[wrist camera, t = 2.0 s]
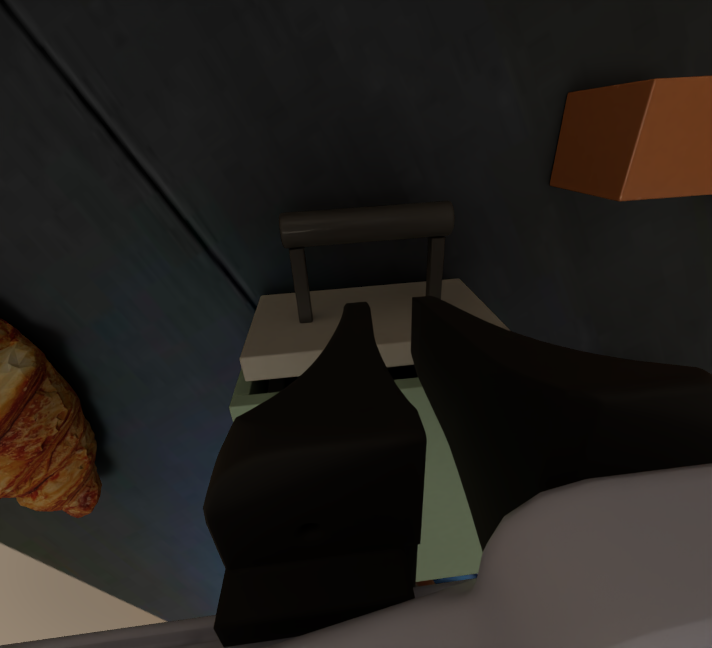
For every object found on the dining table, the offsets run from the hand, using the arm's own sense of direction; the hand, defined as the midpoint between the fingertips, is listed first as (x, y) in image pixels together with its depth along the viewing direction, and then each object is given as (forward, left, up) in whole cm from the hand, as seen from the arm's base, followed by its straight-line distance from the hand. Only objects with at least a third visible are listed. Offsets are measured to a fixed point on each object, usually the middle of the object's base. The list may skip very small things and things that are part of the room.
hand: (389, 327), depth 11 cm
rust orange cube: (-13, -5, -9) cm, 16 cm away
